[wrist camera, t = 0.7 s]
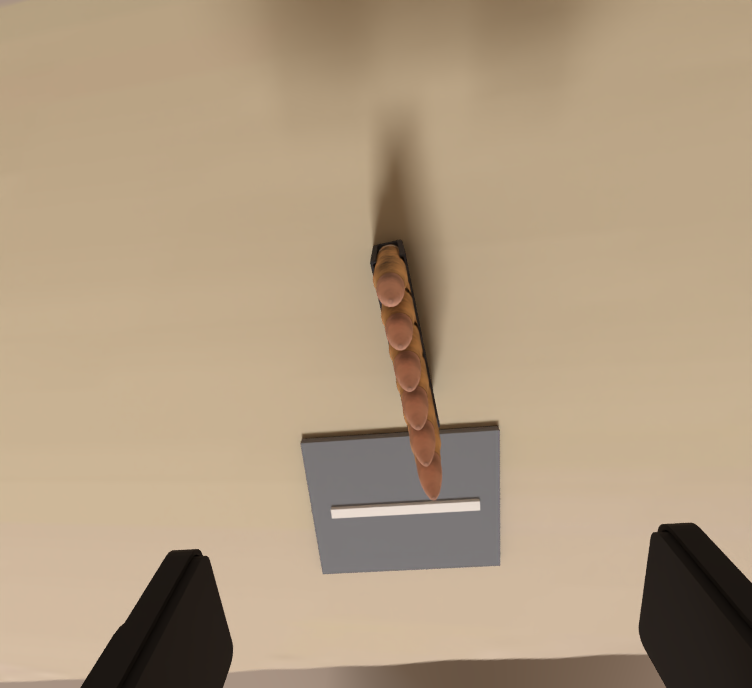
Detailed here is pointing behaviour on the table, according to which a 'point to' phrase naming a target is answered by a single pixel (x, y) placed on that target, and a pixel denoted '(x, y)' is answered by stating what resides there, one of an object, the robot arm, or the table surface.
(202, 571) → the robot arm
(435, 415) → the ammunition clip
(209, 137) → the table surface
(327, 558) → the mat
